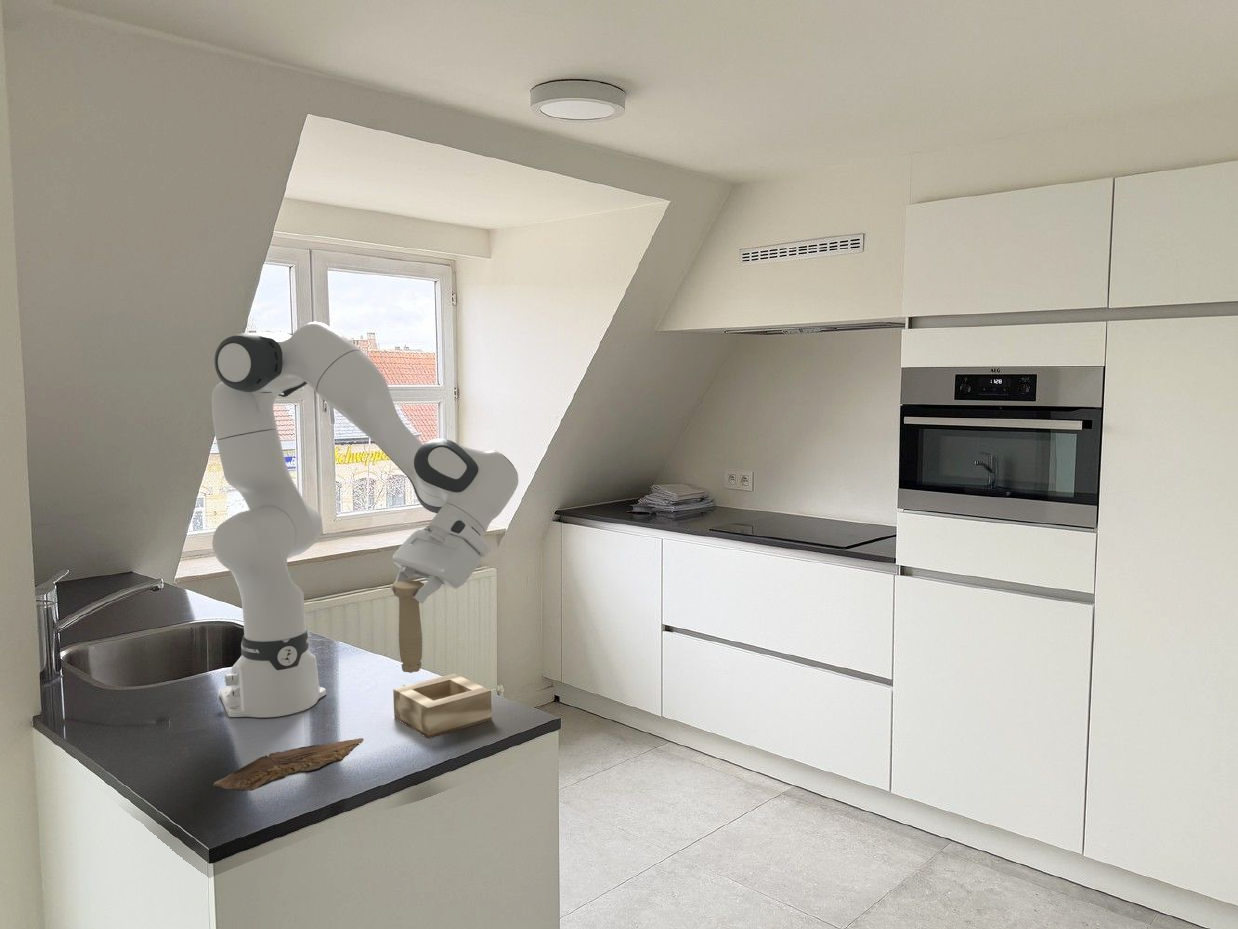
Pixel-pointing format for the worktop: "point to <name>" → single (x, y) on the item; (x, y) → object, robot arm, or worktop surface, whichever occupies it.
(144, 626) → the worktop surface
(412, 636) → the handle
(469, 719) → the socket block
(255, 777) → the wooden fragment
